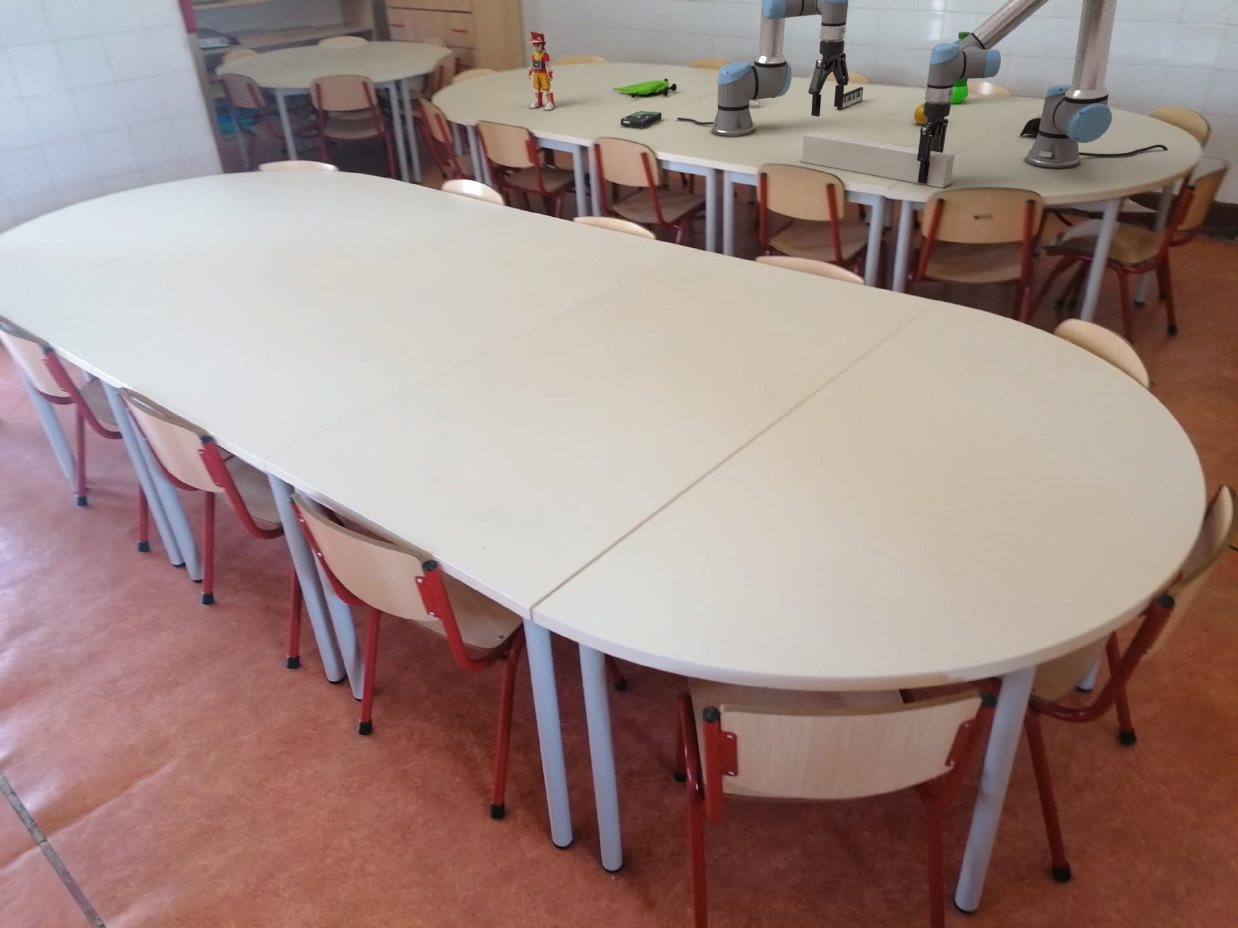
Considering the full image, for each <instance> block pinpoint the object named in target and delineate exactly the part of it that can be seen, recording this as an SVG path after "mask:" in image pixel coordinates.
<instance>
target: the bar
mask: <svg viewBox="0 0 1238 928" xmlns="http://www.w3.org/2000/svg"><path fill="white" fill-rule="evenodd" d="M918 149H919V148H917V147H910V146H909V147H908V146H903V145H897V144H892V143H891V144H890V143H884V142H880V141H879V142H878V141H872V140H867V139H860V138H854V137H847V136H842V135H836V134H831V133H830V134H829V133H823V132H816V131H810V132H808V133H806V134H803V142H802V154H801V155H802V156H801V162H802V163H807V164H812V165H816V166H817V165H818V166H822V167H823V166H824V167H828V168H834V169H839V170H845V171H850V172H855V173H860V174H866V175H871V176H877V177H881V178H886V179H887V178H888V179H891V180H892V179H893V180H899V181H905V182H910V183H913V184H920V185H925V186H930V187H936V188H942V189H944V188H945V187H947V186H948V185H950V184H951V181H952V175H953V169H954V163H955V156H956V155H955V154H952V153H948V152H947V153H946V152H943V153H941V152H935V151H931V153H930V157H929V161H928V162H930V165H929V172H928V179H927V184H923V183H918V176H919V169H920V161H917V156H918Z"/></svg>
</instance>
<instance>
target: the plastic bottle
mask: <svg viewBox="0 0 1238 928" xmlns="http://www.w3.org/2000/svg"><path fill="white" fill-rule="evenodd" d="M970 33H971V32H970V31H959V32H958V36H957V39H958V40H961V39H964V38H966V37H967V36H968V35H969V34H970ZM968 80H969V79H955V81H954V86H953V91H954V94H953V95H952V100H951V101H950V103H951V104H960V103H961V102H963V101H964V100H966V98H967V96H968V95H969V85H968Z"/></svg>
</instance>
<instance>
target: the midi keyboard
mask: <svg viewBox="0 0 1238 928" xmlns="http://www.w3.org/2000/svg"><path fill="white" fill-rule="evenodd" d="M863 95H864V86H860V87H857V88H855V89H851V90H850V91H847V92H845V93H844V94H843V106H842V107H836V109H837V110H842V109H844V108H846V107H849V106H851V105H853V104H855V103H858V102H860V101H863Z"/></svg>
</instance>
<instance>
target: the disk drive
mask: <svg viewBox="0 0 1238 928" xmlns="http://www.w3.org/2000/svg"><path fill="white" fill-rule="evenodd" d="M661 119H663V118H662V112H659V111H652V110H651V111H645V110H638V111H636V112H633V113H631V114H629V115H627V116H624V117H622V118H620V126H622V127H628V128H629V127H630V128H640V129H644V128H645V127H648V126H650V125H652V124H654V123H656V122H658V121H660V120H661Z"/></svg>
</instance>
